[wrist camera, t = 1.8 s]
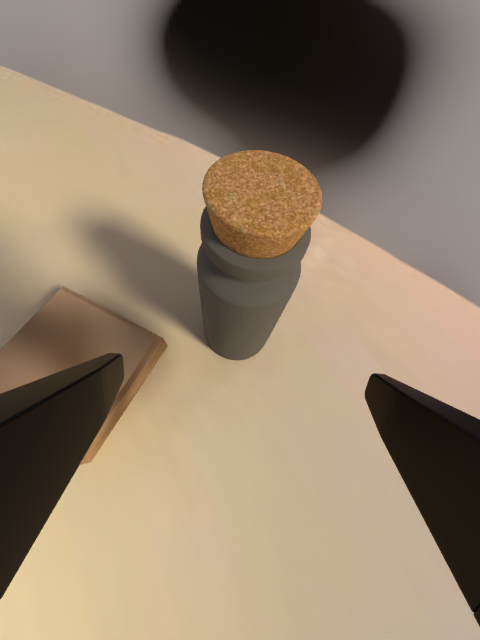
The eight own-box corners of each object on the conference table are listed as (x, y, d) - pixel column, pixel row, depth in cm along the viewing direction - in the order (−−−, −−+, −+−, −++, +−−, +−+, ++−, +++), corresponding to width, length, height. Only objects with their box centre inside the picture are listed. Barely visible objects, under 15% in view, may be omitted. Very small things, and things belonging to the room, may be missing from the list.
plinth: (90, 462, 18) (72, 466, 16) (-17, 397, 19) (-48, 392, 17) (167, 345, 22) (161, 336, 20) (75, 297, 23) (59, 283, 21)
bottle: (202, 305, 24) (183, 139, 10) (261, 300, 25) (316, 140, 11) (207, 364, 22) (191, 252, 8) (272, 357, 23) (358, 243, 9)
